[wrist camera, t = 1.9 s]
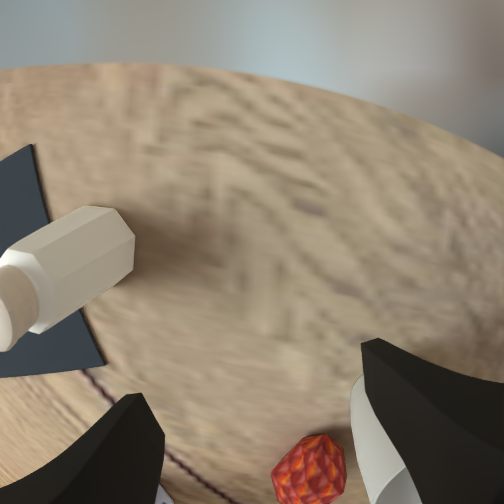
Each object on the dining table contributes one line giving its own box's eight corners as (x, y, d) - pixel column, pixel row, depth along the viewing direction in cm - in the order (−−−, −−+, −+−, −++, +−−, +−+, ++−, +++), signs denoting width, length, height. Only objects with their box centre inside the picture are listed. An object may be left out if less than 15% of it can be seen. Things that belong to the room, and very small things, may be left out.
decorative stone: (338, 422, 25) (310, 493, 24) (272, 416, 24) (246, 493, 22) (382, 447, 19) (346, 526, 18) (310, 448, 18) (273, 535, 16)
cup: (318, 427, 22) (350, 527, 13) (349, 340, 21) (413, 439, 11) (402, 423, 23) (451, 502, 13) (438, 344, 21) (514, 416, 12)
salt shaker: (53, 217, 18) (-74, 259, 7) (124, 191, 18) (5, 216, 7) (78, 295, 19) (-21, 387, 8) (149, 278, 19) (70, 383, 8)
